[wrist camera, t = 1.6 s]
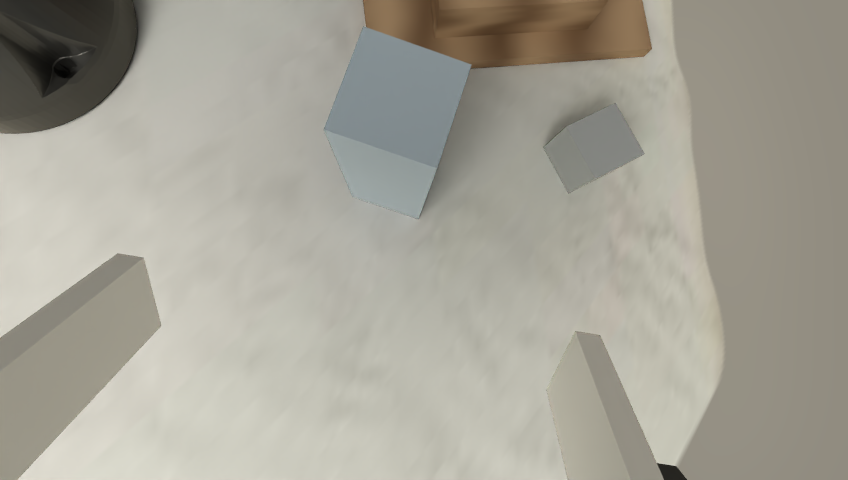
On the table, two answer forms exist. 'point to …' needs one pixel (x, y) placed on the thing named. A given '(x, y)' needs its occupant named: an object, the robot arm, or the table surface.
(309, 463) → the table surface
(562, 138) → the grey block
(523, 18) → the tray
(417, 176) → the block
